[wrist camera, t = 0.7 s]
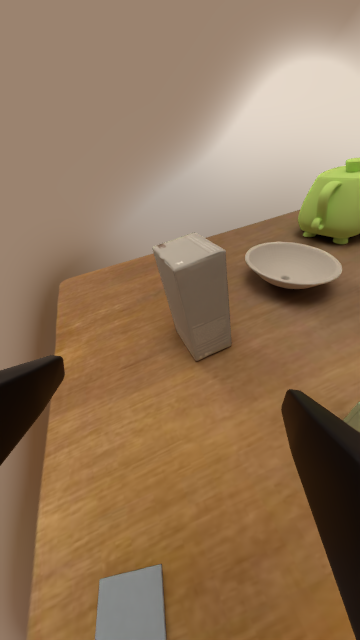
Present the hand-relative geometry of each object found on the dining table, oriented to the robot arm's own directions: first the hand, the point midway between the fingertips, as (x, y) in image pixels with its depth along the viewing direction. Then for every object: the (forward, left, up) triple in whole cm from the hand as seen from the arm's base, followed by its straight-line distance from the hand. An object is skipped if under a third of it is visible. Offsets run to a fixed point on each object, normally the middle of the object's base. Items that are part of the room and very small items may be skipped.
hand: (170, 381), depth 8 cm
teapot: (+44, -49, -19) cm, 69 cm away
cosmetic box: (+19, -4, -19) cm, 27 cm away
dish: (+29, -24, -19) cm, 42 cm away
